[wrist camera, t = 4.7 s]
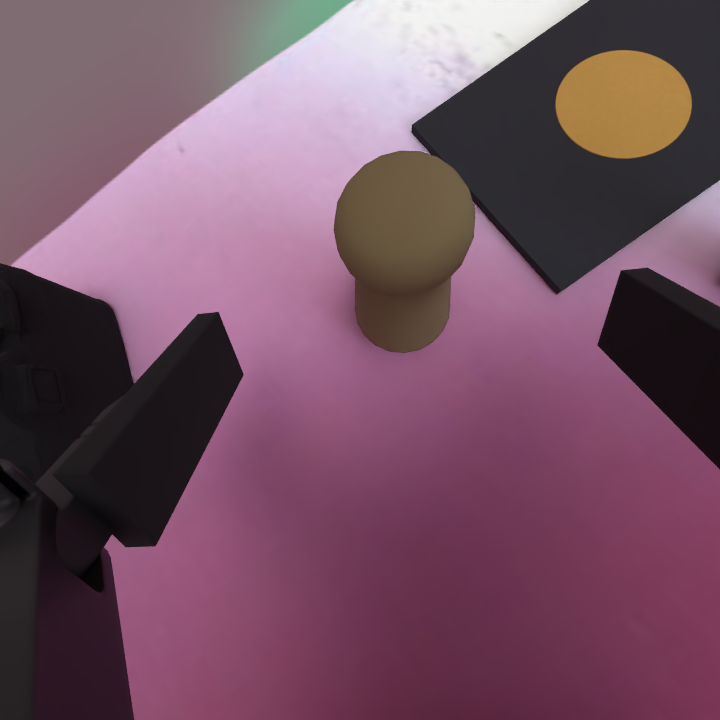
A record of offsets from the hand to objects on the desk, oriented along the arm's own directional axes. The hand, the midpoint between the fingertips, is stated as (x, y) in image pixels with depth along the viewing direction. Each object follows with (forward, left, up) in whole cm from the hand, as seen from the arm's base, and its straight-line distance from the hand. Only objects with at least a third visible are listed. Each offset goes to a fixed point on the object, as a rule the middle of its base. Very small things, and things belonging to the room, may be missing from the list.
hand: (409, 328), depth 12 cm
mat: (+6, -21, -10) cm, 24 cm away
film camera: (+10, +20, -10) cm, 24 cm away
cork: (+3, -2, -10) cm, 11 cm away
